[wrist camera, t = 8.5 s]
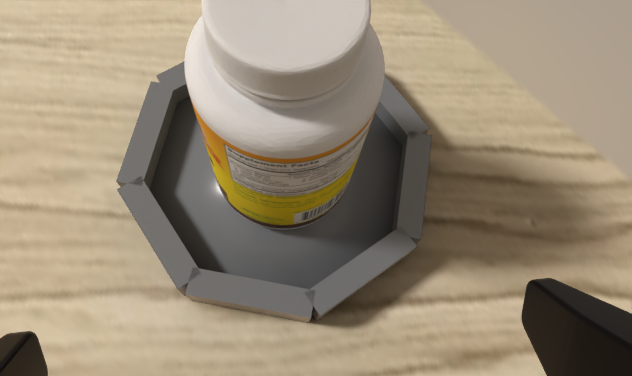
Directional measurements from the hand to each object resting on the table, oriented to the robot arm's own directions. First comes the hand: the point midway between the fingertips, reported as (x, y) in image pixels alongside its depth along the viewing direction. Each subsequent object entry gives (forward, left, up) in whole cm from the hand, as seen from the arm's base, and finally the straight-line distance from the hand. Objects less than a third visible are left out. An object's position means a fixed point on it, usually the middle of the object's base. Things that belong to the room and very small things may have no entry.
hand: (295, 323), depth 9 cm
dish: (+6, -4, -11) cm, 13 cm away
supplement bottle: (+6, -4, -10) cm, 12 cm away
